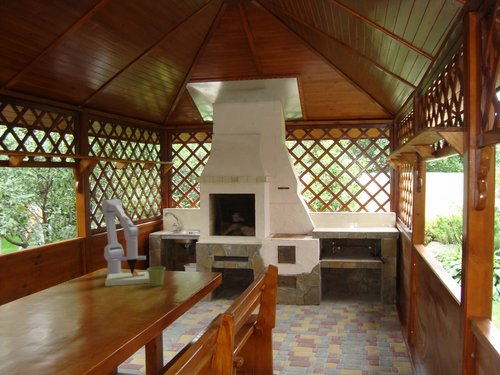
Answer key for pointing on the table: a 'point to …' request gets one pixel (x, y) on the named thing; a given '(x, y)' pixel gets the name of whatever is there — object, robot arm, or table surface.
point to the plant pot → (156, 275)
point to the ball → (135, 273)
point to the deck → (127, 279)
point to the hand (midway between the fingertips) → (132, 273)
